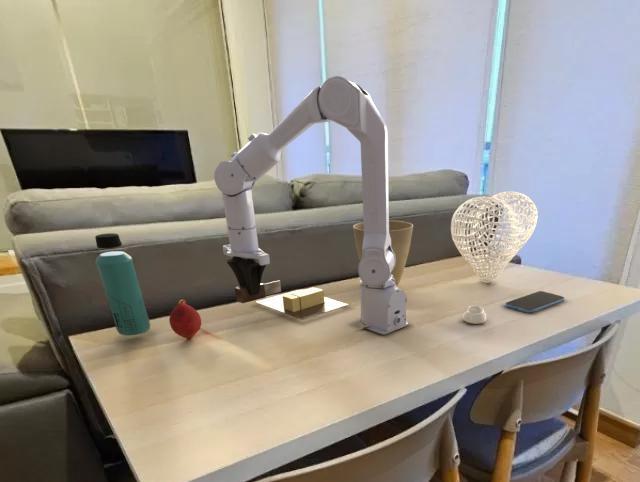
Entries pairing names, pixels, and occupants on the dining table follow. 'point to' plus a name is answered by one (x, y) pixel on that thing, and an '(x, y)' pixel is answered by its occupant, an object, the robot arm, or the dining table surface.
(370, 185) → the robot arm
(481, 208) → the heart
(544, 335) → the dining table surface
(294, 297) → the butter slice
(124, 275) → the beverage bottle
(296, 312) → the board
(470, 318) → the white jar
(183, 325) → the onion
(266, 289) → the knife
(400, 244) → the plant pot
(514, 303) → the smartphone
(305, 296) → the butter block
